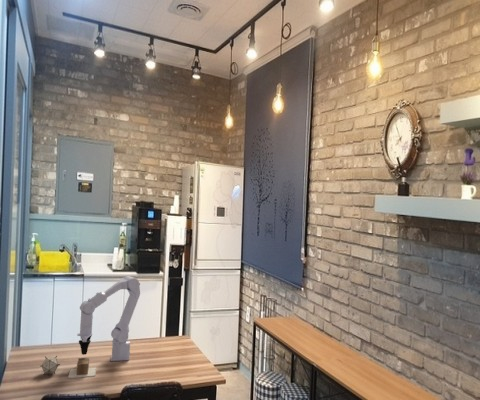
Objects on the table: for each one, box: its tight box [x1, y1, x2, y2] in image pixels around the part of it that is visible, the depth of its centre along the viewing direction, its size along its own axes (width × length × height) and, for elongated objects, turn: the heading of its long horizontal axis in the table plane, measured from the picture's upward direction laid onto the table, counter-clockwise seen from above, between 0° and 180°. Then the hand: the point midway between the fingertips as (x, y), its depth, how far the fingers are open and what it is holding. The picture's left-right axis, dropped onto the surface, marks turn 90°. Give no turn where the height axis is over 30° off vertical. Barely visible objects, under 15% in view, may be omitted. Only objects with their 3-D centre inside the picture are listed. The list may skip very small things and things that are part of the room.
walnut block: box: [76, 356, 90, 375], centre depth 194 cm, size 5×5×9 cm
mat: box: [67, 367, 97, 379], centre depth 193 cm, size 12×10×1 cm
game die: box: [39, 355, 61, 376], centre depth 191 cm, size 9×8×10 cm
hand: (84, 351), depth 202 cm, fingers open, 7 cm apart
